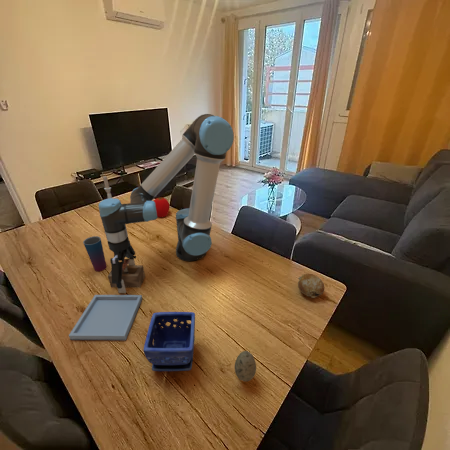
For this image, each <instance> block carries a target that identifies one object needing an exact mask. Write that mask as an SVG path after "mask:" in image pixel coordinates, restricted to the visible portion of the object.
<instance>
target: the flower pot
mask: <svg viewBox="0 0 450 450" xmlns="http://www.w3.org/2000/svg"><path fill="white" fill-rule="evenodd" d="M176 320H177V321H176ZM188 321H190V323H188ZM167 323H169V325H167ZM195 327H196V313H195V312H193V311H159V312H154V313H152V316H151V318H150V321H149V325H148V329H147V333H146V337H145V340H144V341H145V342H144V345H143V353H144V357H145V358H146V360H147V361H148V362H149V363H150V364H152V365H151V370H152V371H154V372H183V371H184V372H185V371H186V372H188V371H191V370H192V367H193V359H194V350H195V341H196V340H195V334H196V333H195V332H196V328H195Z"/></svg>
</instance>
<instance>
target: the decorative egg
mask: <svg viewBox="0 0 450 450" xmlns="http://www.w3.org/2000/svg"><path fill="white" fill-rule="evenodd" d="M256 371H257V362H256V360H255V357H254V356H253V354H252V353H251V352H250V351H248V350H244V351H241V352H240V353H239V354H238V355H237V357H236V359H235V363H234V373H235V375H236V377H237V379H238V380H240V381H242V382H249V381H251V380H252V379H254V377H255V375H256Z"/></svg>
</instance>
